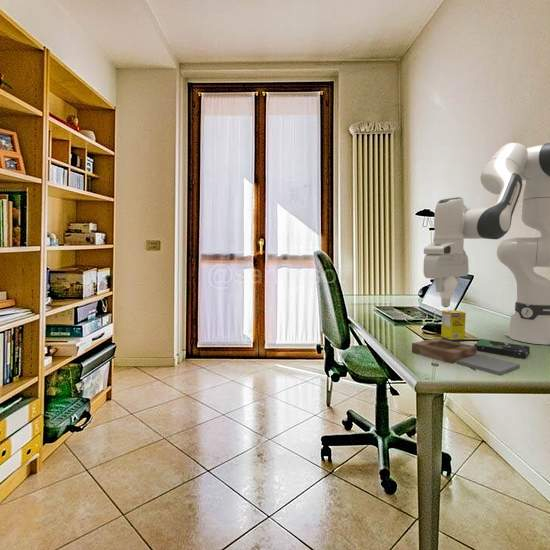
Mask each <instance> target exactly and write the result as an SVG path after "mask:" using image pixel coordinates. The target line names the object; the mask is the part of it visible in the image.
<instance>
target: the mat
mask: <svg viewBox="0 0 550 550" xmlns="http://www.w3.org/2000/svg"><path fill="white" fill-rule="evenodd" d="M456 364H457V365H460V366H464V367H468V368H471V369H475V370H479V371H483V372H486V373H489V372H490V374H493V373H494V375H497V374H498V376H502V375H504V373H505V374H507V373H510V372H512V371H514V369H515V370H517V369H520V368H519V367H521V364H520V363H516V362H512V361H507V360H503V359H500V358H495V357H491V356H487V355H483V354H479V353H476V355H473V356H470V357H467V358H464V359H460V360H457V362H456ZM509 371H510V372H509Z"/></svg>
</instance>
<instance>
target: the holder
mask: <svg viewBox="0 0 550 550" xmlns="http://www.w3.org/2000/svg"><path fill="white" fill-rule="evenodd" d="M476 350H477V347H475V346H474V345H470V344H465V343H461V342H458V341H449V340H446V339H443V338H441V337H440V338H439V337H434V338H429V339H425V340H421V341H420V340H419V341H417V342H412V343H411V353H414V354H417V355H420V356H425V357H428V358H431V359H434V360H439V361H443V362H446V363H449V364H454V363H457V360H460V359H464V358H467V357H470V356H473V355H477V351H476Z"/></svg>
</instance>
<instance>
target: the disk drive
mask: <svg viewBox="0 0 550 550" xmlns="http://www.w3.org/2000/svg"><path fill="white" fill-rule="evenodd" d="M473 346H475V347H477V350H476V352H481V353H485V354H492V355H496V356H497V355H498V356H504V357H509V358H515V359H520V358H521V359H520V360H526V358H527V357H528V356H529V354H530V351H531V350H530V349H531V347H530V346H529V345H523V344H515V343H512V342H511V343H509V342H502V341H496V340H489V339H483V338H480V339H479V340H477V342H476V343H474V344H473Z"/></svg>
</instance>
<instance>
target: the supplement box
mask: <svg viewBox="0 0 550 550" xmlns="http://www.w3.org/2000/svg"><path fill="white" fill-rule="evenodd" d="M466 314H467V313H466V312H464V311H459V310H456V309H452V310H450V309H447V310H444V309H443V310H441V327H440V328H441V330H440V331H441V335H440V338H441V337H443V338H444V340H449V341H453V342H465V337H466ZM443 338H442V339H443Z"/></svg>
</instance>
